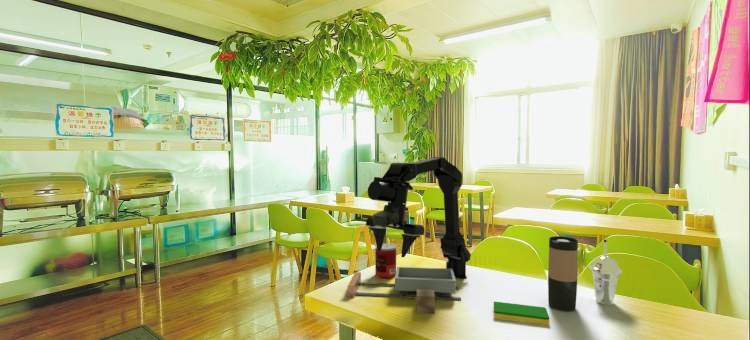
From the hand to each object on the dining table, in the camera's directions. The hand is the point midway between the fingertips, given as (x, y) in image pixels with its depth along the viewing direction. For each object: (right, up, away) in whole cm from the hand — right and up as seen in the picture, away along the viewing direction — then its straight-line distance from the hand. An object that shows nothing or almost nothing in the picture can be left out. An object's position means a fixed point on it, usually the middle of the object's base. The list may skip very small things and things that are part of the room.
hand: (390, 253), depth 110 cm
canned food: (-1, -14, +24) cm, 27 cm away
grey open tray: (+11, -14, +7) cm, 19 cm away
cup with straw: (+65, -15, 0) cm, 66 cm away
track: (+5, -14, +8) cm, 17 cm away
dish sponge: (+35, -16, -10) cm, 40 cm away
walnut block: (+10, -15, -6) cm, 19 cm away
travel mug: (+50, -15, -4) cm, 53 cm away
